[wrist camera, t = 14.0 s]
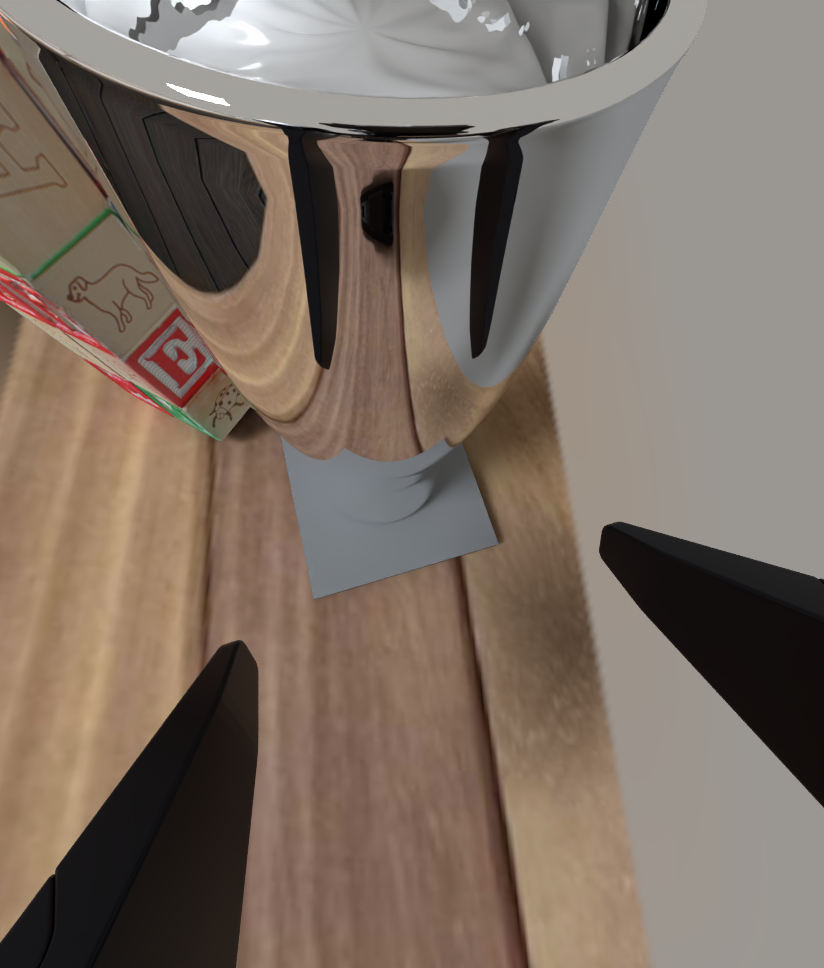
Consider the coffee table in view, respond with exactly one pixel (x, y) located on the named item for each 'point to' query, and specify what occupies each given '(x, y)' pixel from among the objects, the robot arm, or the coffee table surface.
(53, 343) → the coffee table surface
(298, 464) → the charcoal mat
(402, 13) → the chrome tapered cup
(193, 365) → the stack of blocks
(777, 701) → the robot arm
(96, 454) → the coffee table surface
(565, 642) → the coffee table surface
